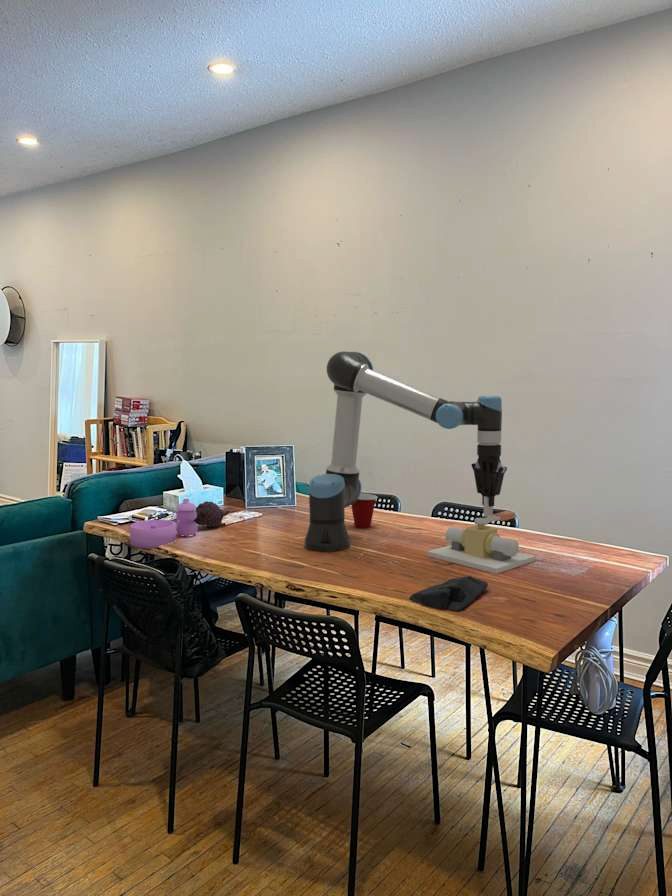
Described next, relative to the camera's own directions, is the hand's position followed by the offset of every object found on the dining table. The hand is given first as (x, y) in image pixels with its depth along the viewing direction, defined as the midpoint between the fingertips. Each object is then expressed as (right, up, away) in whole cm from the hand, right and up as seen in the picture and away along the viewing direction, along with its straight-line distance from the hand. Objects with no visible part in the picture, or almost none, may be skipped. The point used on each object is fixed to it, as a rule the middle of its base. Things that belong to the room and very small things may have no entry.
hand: (488, 515), depth 227 cm
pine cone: (-97, -8, +34) cm, 104 cm away
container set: (-109, -10, +17) cm, 111 cm away
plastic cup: (-39, -8, +35) cm, 53 cm away
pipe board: (-5, -12, -10) cm, 17 cm away
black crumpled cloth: (-19, -17, -45) cm, 52 cm away
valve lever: (0, -1, -7) cm, 7 cm away
